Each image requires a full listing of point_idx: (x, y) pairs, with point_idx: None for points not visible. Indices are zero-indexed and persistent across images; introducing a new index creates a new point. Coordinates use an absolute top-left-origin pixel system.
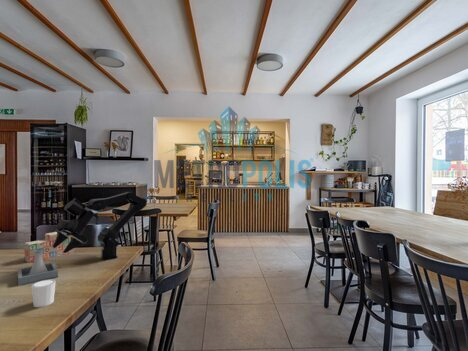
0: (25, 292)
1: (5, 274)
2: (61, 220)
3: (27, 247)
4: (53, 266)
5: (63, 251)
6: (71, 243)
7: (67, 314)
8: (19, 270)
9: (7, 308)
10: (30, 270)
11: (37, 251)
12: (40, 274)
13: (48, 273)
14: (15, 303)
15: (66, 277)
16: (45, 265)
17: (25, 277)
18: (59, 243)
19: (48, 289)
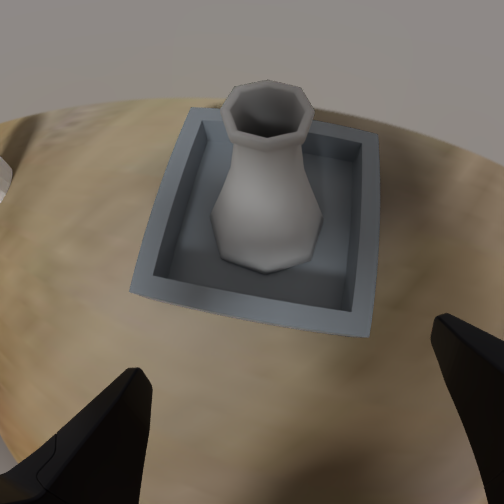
0: (98, 148)
1: (421, 136)
2: None
3: None
4: (253, 301)
5: (135, 371)
6: (27, 466)
7: None
8: (340, 130)
9: (48, 115)
10: (355, 192)
11: None
12: (157, 195)
13: (147, 238)
14: (54, 127)
15: (108, 329)
16: (353, 271)
17: (182, 132)
18: (465, 409)
19: None
